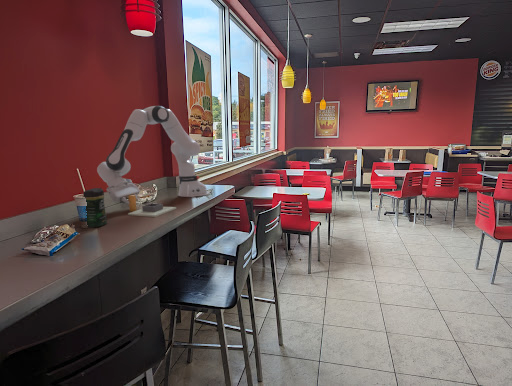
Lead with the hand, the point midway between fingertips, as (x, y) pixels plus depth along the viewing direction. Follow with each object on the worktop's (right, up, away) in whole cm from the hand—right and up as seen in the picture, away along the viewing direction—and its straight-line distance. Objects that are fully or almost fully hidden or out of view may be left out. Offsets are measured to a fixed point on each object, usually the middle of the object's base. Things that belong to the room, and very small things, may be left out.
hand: (133, 202), depth 196 cm
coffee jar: (-7, -11, -29) cm, 32 cm away
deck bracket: (+13, -6, -4) cm, 14 cm away
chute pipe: (0, -5, +1) cm, 5 cm away
